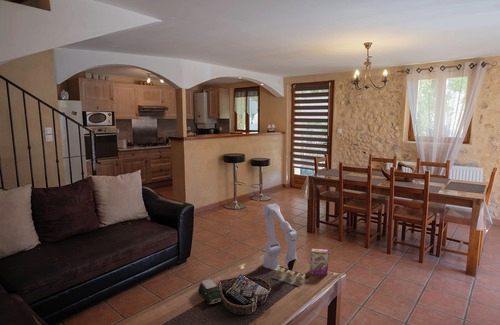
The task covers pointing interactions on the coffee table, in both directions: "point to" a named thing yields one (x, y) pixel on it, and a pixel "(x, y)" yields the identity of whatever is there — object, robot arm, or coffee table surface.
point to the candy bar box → (319, 261)
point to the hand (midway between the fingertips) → (290, 269)
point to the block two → (300, 278)
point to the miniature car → (209, 291)
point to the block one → (280, 272)
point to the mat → (290, 281)
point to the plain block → (290, 275)
